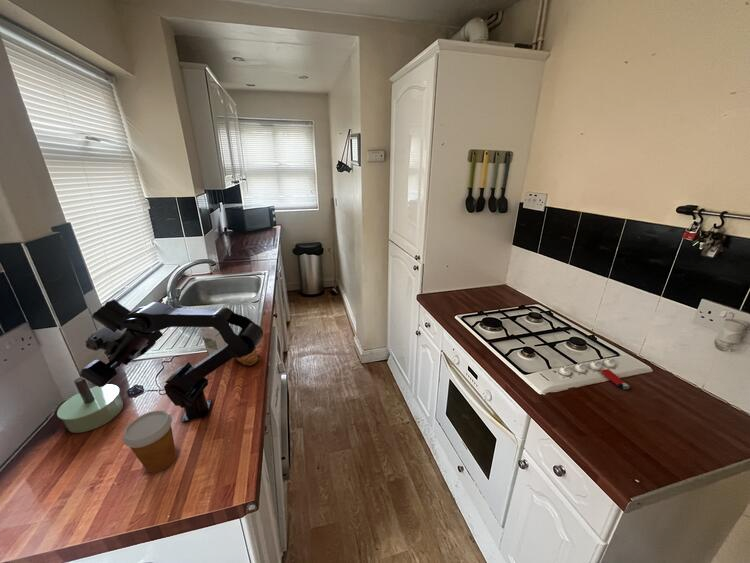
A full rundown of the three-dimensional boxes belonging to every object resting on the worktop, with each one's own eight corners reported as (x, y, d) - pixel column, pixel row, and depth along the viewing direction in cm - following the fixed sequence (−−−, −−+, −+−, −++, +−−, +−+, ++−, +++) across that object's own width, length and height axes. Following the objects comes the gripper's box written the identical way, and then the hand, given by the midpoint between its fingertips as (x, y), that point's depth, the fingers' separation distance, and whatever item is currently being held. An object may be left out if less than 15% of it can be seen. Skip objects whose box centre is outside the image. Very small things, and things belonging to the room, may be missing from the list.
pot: (111, 426, 86) (105, 412, 84) (56, 437, 83) (48, 424, 81) (130, 395, 97) (125, 383, 95) (82, 404, 94) (76, 392, 92)
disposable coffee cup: (175, 437, 82) (162, 403, 77) (189, 457, 76) (176, 421, 72) (132, 463, 75) (115, 427, 71) (145, 487, 69) (127, 450, 65)
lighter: (609, 369, 102) (630, 385, 94) (608, 372, 102) (629, 388, 95) (601, 369, 101) (622, 386, 94) (600, 372, 102) (620, 389, 95)
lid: (107, 415, 84) (95, 390, 81) (46, 427, 80) (31, 402, 77) (128, 383, 96) (119, 360, 93) (76, 392, 93) (64, 369, 89)
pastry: (263, 361, 112) (261, 352, 111) (245, 369, 108) (243, 360, 106) (252, 350, 118) (250, 342, 117) (234, 358, 114) (232, 350, 113)
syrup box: (231, 352, 118) (224, 319, 112) (220, 361, 112) (212, 327, 107) (219, 350, 119) (211, 317, 114) (208, 359, 114) (198, 325, 108)
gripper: (133, 305, 88) (109, 338, 93) (71, 341, 71) (46, 379, 75) (167, 328, 91) (143, 359, 95) (115, 369, 73) (89, 404, 78)
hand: (108, 373), depth 86 cm, fingers open, 9 cm apart
